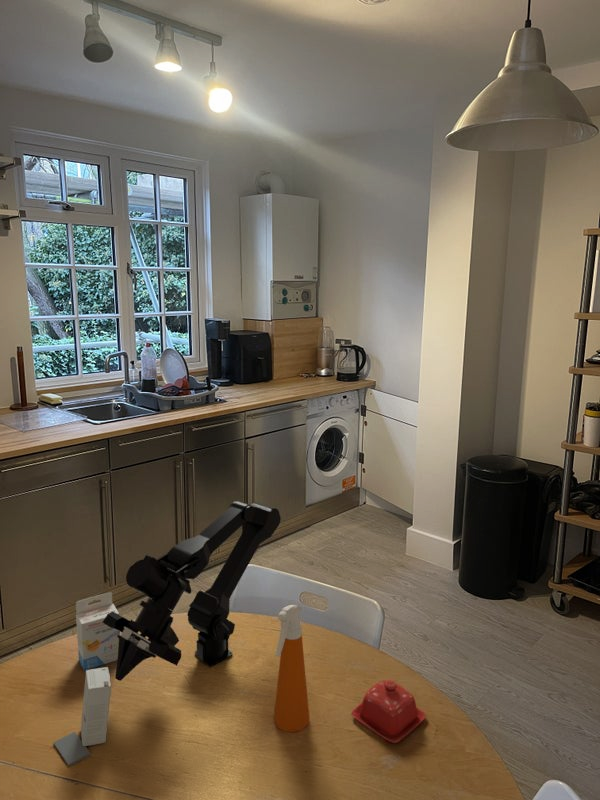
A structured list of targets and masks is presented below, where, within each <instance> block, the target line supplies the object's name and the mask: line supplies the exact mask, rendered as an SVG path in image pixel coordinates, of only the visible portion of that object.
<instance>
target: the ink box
mask: <svg viewBox="0 0 600 800" xmlns="http://www.w3.org/2000/svg"><path fill="white" fill-rule="evenodd" d="M94 601H99V602H94ZM92 602H94V603H92ZM89 603H91V604H89ZM75 611H76V614H75V623H76V634H77V635H76V637H77V638H76V639H77V649H78V650H77V651H78V661H79V663H80V665H81V667H82V668H83V671H85V672H86V670H91V669H95V668H97V667H100V666H102V665H106V664H109V663H113V662H115V661H116V662H117V659H118V645H119V638H118V637H117V635H120V636H121V632H120V631H119V630H117V629H114V628H111V627H109V626H107V625H106V624H104V623H102V622H103V621H104V619H105V617H106V616H107V614H109V613H111V612H115V613H117V614H119V615H120V612H119V611H118V609H117V607H116V606H115V604H114V603H113V592H111V591H110V592H105V593H102V594H98V595H94V596H90V597H87V598H83V599H80V600H77V601H76V602H75Z"/></svg>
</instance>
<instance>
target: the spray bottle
mask: <svg viewBox="0 0 600 800" xmlns="http://www.w3.org/2000/svg"><path fill="white" fill-rule="evenodd" d="M302 609H303V607H301V606H300V605H295V604H289V605H287V606H285V607H282V608H281V609H280V612H279V614H278V615H277V618H278V620H279V621H280V632H279V638H278V643H277V648H276V651H275V657H276V658H279V666H278V667H279V668H278V675H277V685H276V695H275V702H274V710H273V711H274V712H273V720H274V725H275V726H276V727H277V728H278V729H280V730H282V731H283V732H289V733H294V732H299V731H301V730H303V729H305V728H306V727H307V726H308V724H309V722H310V711H309V710H310V709H309V699H308V688H307V679H306V678H307V677H306V668H305V667H306V666H305V657H304V656H305V655H304V645H303V635H302V633H303V631H302V623H301V618H300V615H301V612H302Z"/></svg>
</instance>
